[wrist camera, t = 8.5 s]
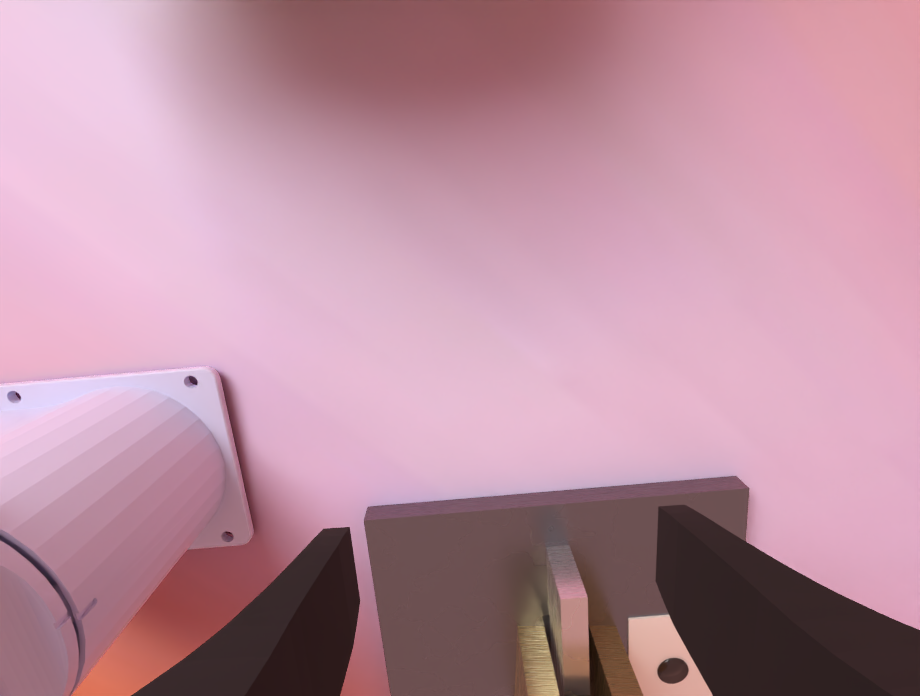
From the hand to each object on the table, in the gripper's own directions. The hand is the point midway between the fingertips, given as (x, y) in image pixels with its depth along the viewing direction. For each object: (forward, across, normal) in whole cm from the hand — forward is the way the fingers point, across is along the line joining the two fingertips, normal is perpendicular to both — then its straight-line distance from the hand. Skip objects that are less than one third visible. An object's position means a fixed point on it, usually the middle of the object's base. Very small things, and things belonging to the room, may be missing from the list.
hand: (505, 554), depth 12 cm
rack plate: (+9, -3, +14) cm, 17 cm away
